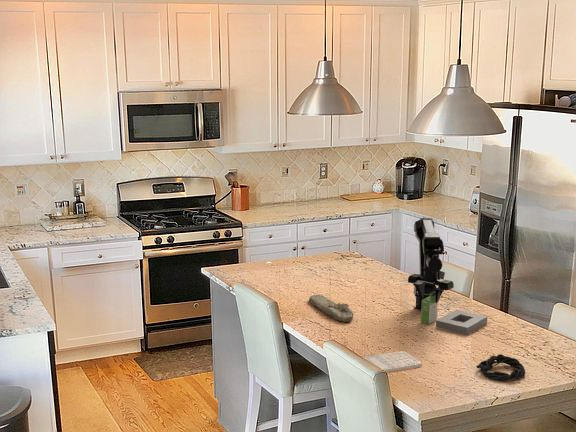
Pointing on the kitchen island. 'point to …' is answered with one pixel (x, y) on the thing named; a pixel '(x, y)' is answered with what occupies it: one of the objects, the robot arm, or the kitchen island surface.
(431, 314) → the ink box
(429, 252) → the robot arm
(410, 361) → the calculator
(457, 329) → the pocket plate
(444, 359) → the kitchen island surface
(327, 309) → the long grey stone
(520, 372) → the cable
